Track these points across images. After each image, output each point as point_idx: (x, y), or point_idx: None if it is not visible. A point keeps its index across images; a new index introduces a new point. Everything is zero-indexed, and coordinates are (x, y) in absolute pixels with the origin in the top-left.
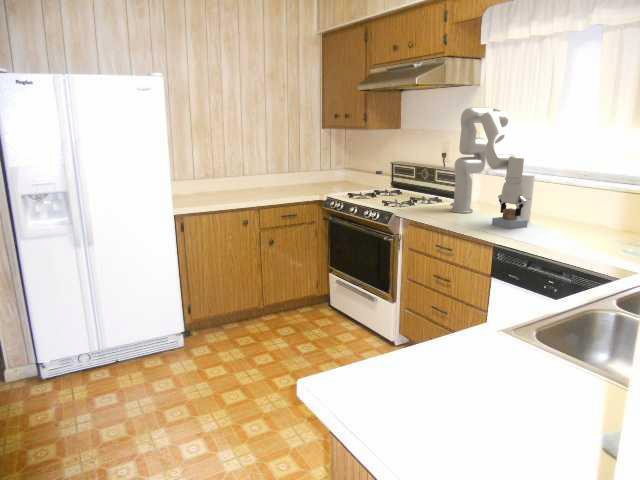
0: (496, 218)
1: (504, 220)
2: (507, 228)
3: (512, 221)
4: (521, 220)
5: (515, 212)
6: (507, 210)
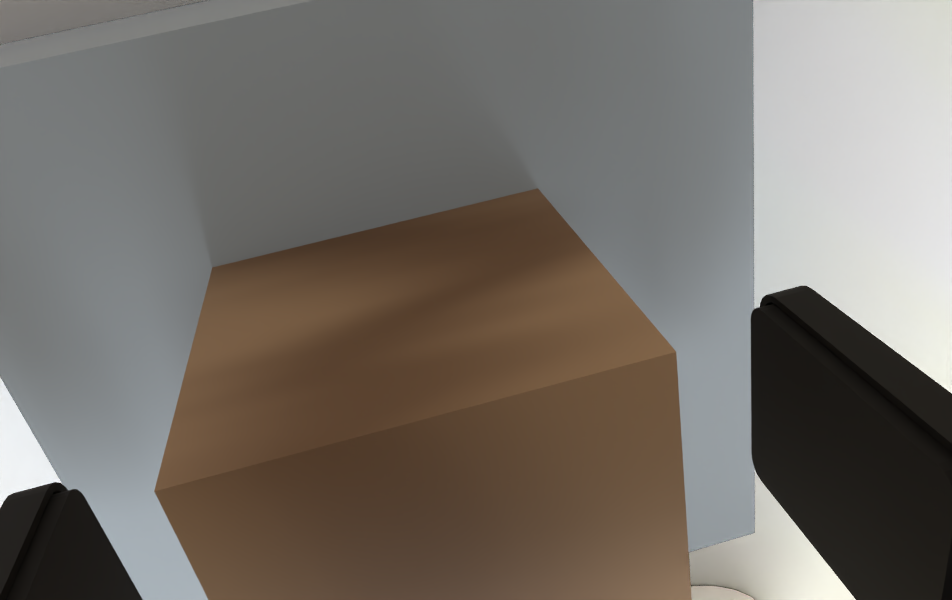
0: (629, 4)
1: (233, 78)
2: (51, 36)
3: (22, 260)
4: (171, 566)
5: (22, 587)
6: (384, 413)
